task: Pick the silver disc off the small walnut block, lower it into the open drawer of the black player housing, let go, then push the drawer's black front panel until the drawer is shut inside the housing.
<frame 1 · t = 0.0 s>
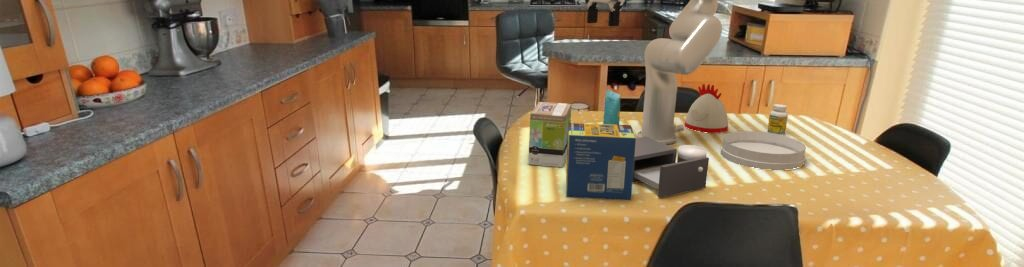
hand: (602, 24, 154), 37 cm above the table, tool pointing down, fingers open, 9 cm apart
protein box: (597, 191, 134), on the table
tea box: (549, 158, 157), on the table
disc: (691, 156, 144), point 5 cm above the table, touching walnut block
hen dome cover: (705, 128, 189), on the table
tube: (609, 158, 157), on the table
drawer: (668, 170, 136), point 4 cm above the table, slide at 9.5 cm
housing: (637, 171, 147), on the table
supplement bottle: (775, 134, 182), on the table
walnut block: (689, 174, 145), on the table
dish: (760, 158, 159), on the table
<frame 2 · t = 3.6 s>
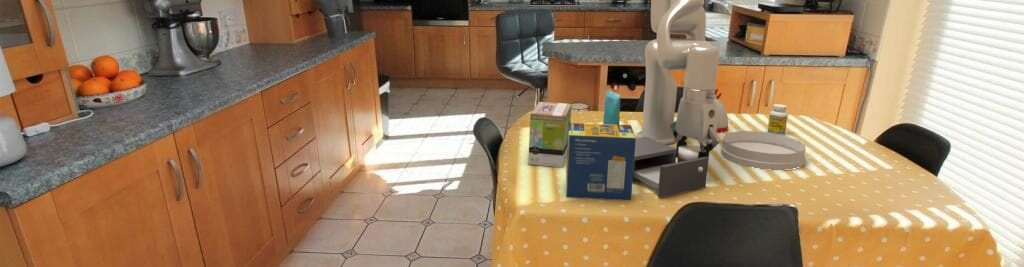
hand: (691, 160, 144), 4 cm above the table, tool pointing down, fingers closed on disc, 7 cm apart
disc: (691, 156, 144), point 5 cm above the table, touching gripper, walnut block
everything else where it was.
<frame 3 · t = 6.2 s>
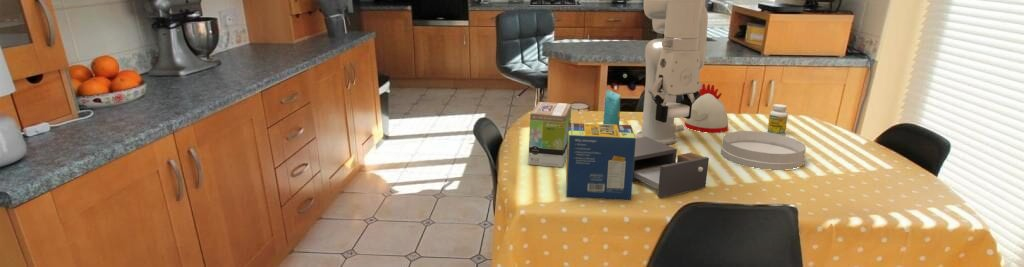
hand: (673, 118, 132), 17 cm above the table, tool pointing down, fingers closed on disc, 7 cm apart
disc: (673, 114, 132), point 18 cm above the table, touching gripper
everything else where it was.
when the fingers open (4 cm above the table, at t = 8.7 s): disc drops 3 cm, resting on drawer.
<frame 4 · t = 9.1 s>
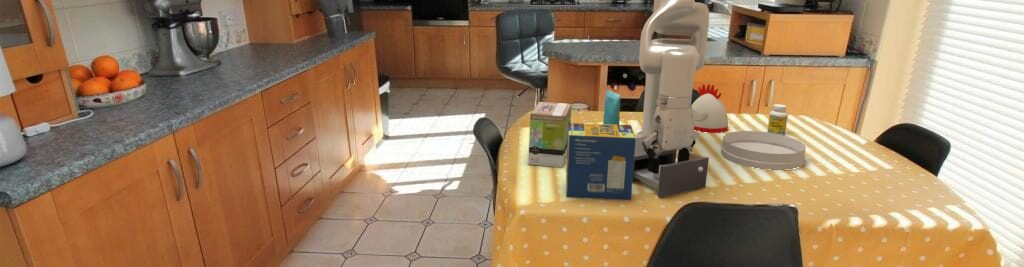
hand: (668, 169, 136), 4 cm above the table, tool pointing down, fingers open, 9 cm apart
disc: (667, 177, 137), point 2 cm above the table, touching drawer
drawer: (668, 170, 136), point 4 cm above the table, slide at 9.5 cm, touching disc
everything else where it was.
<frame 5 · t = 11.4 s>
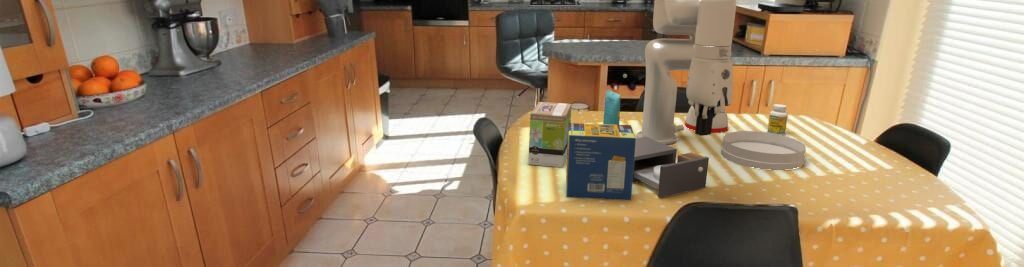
hand: (702, 134, 124), 16 cm above the table, tool pointing down, fingers closed
nothing on the table moved.
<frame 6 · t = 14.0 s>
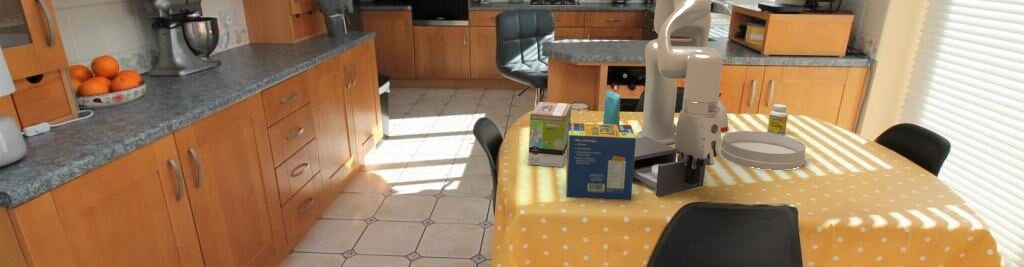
hand: (691, 182, 130), 3 cm above the table, tool pointing down, fingers closed
drawer: (666, 169, 137), point 4 cm above the table, slide at 8.8 cm, touching disc, gripper
everything else where it was.
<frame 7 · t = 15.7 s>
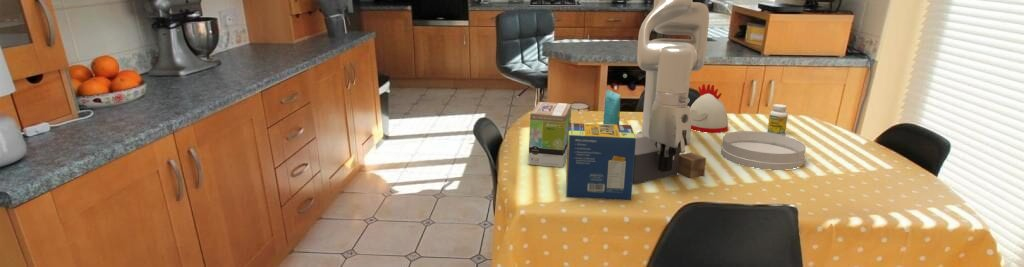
hand: (664, 170, 137), 4 cm above the table, tool pointing down, fingers closed
disc: (641, 165, 145), point 2 cm above the table, touching drawer
drawer: (642, 158, 144), point 4 cm above the table, slide at -0.1 cm, touching disc, gripper
everything else where it was.
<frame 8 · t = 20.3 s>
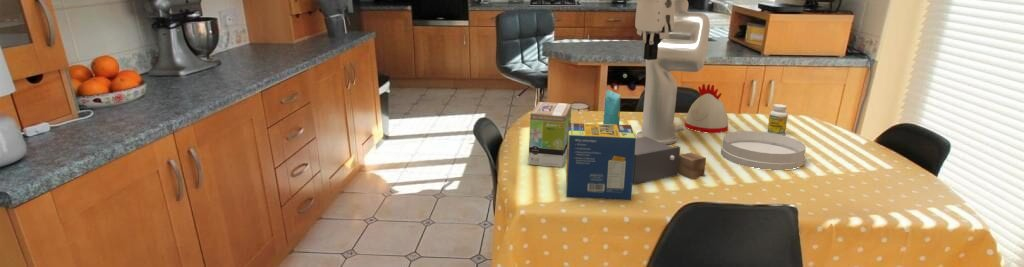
hand: (650, 59, 144), 29 cm above the table, tool pointing down, fingers closed
drawer: (642, 158, 144), point 4 cm above the table, slide at 0.0 cm, touching disc
everything else where it was.
at the end: drawer slide at 0.0 cm; disc inside the target area on the housing (1.0 cm from its centre), point 2.1 cm above the housing's base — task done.
